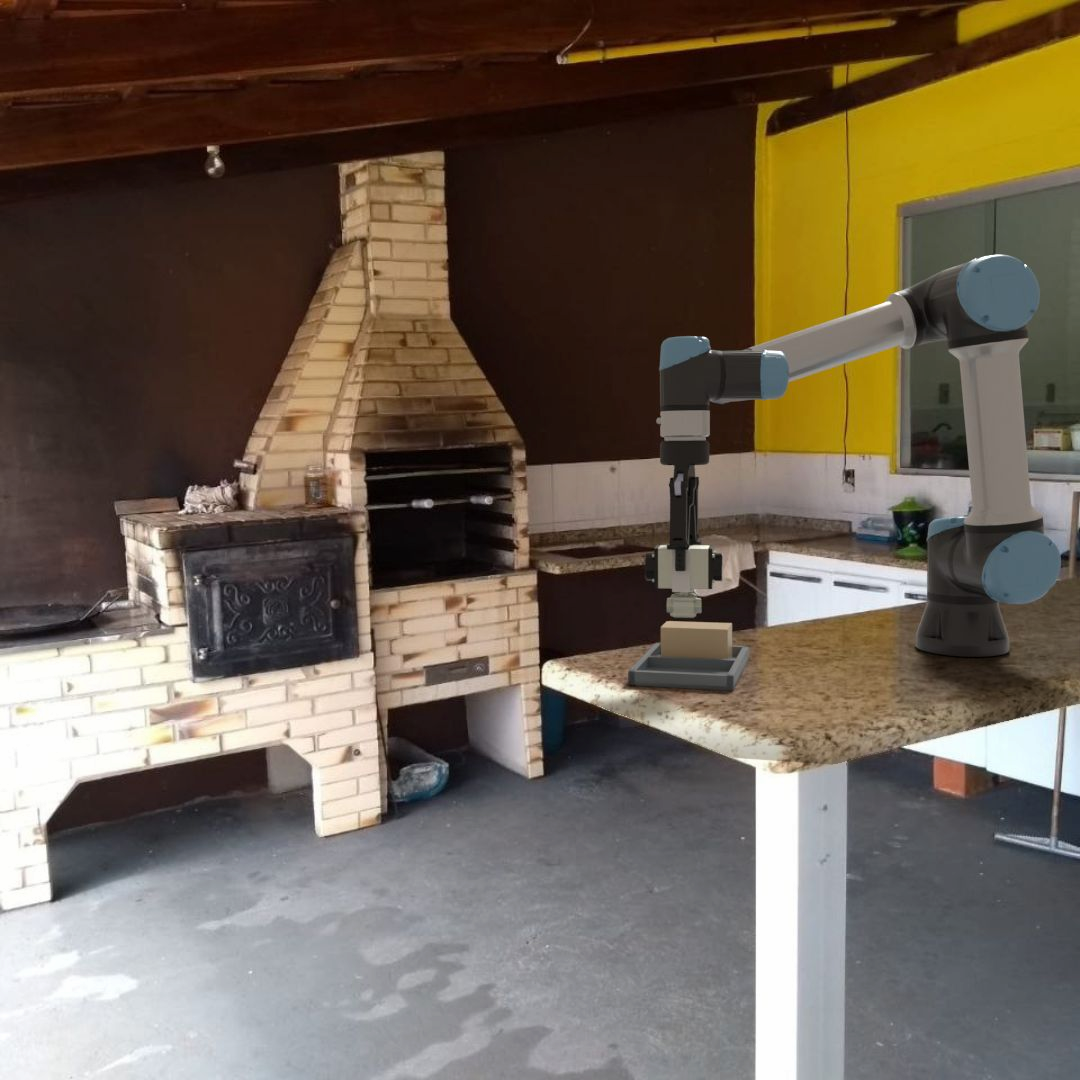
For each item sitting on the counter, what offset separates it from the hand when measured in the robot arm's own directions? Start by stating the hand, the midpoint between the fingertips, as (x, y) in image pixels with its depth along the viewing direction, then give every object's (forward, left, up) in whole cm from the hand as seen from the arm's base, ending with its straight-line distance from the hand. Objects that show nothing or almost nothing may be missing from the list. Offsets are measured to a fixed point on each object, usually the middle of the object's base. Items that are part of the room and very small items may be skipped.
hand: (684, 588), depth 163 cm
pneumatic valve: (0, 0, -5) cm, 5 cm away
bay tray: (0, -6, -14) cm, 15 cm away
